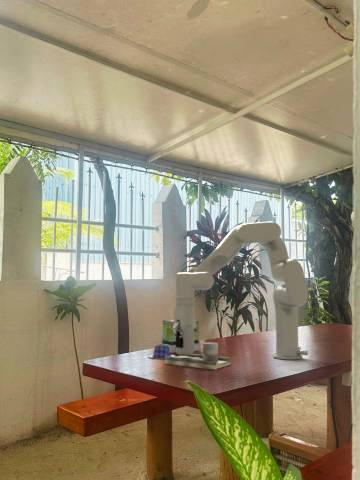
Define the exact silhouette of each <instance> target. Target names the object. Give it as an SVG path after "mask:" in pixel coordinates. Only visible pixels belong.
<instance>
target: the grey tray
mask: <svg viewBox="0 0 360 480" xmlns="http://www.w3.org/2000/svg"><path fill="white" fill-rule="evenodd" d="M165 364H166V365H173V366H183V367H188V368H189V367H190V368H199V369H205V370H206V369H207V370H213V369H214V370H218V368H219V369H221V368H225V367H228V366H231V357H224V356H219V343H217V342H202V354H198V353H197V354H196V353H193V354H192V355H186V356H183V355H178V356H175V357H168V356H166V357H165V359H164V365H165Z"/></svg>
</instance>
